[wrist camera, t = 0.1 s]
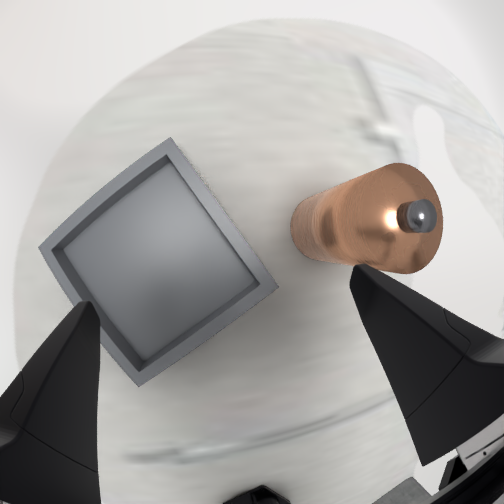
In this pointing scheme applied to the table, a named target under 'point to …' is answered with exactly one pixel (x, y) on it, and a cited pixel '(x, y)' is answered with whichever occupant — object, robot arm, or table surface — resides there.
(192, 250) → the fill tray
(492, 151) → the table surface
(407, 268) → the copper bottle
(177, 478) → the table surface
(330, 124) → the table surface
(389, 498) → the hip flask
